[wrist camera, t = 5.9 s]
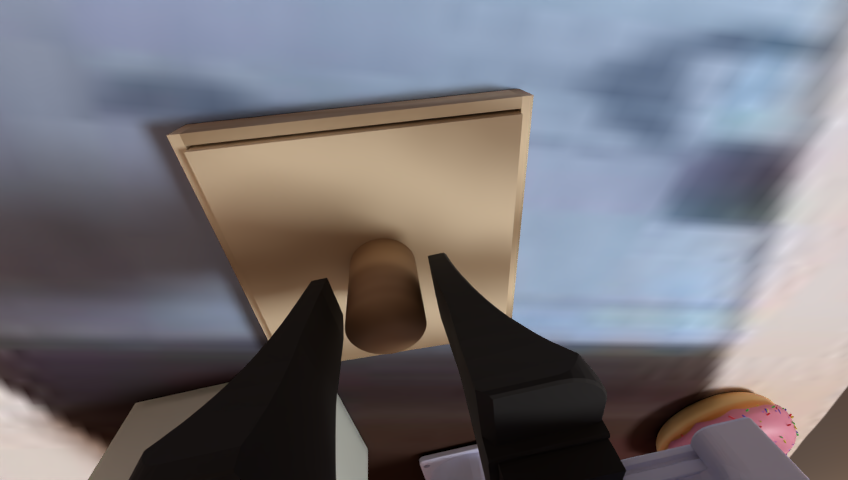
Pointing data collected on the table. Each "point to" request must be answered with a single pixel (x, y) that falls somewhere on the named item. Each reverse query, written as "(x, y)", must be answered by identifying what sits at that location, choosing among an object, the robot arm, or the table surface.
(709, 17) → the table surface
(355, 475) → the storage box
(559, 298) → the table surface
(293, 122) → the lid
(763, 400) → the doughnut
